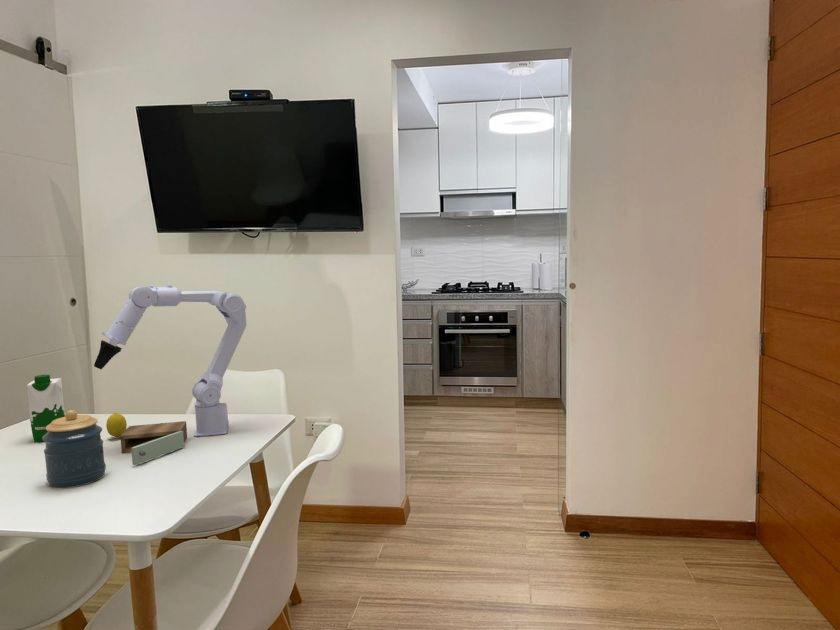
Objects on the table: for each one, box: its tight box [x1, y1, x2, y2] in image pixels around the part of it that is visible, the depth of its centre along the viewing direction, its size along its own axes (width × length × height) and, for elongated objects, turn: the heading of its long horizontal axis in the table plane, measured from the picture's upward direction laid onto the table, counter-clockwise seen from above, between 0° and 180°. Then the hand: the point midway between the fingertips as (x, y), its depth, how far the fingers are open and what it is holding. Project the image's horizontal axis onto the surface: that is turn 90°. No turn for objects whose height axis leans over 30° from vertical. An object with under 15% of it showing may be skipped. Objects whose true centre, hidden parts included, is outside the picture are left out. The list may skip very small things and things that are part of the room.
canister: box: [42, 409, 107, 489], centre depth 150 cm, size 13×13×18 cm
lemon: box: [105, 412, 128, 439], centre depth 184 cm, size 6×6×8 cm
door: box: [131, 431, 185, 466], centre depth 166 cm, size 16×2×5 cm, turn 153°
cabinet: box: [119, 420, 188, 454], centre depth 176 cm, size 16×10×5 cm, turn 103°
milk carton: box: [26, 374, 66, 444], centre depth 186 cm, size 9×9×20 cm
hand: (98, 367), depth 169 cm, fingers open, 7 cm apart
